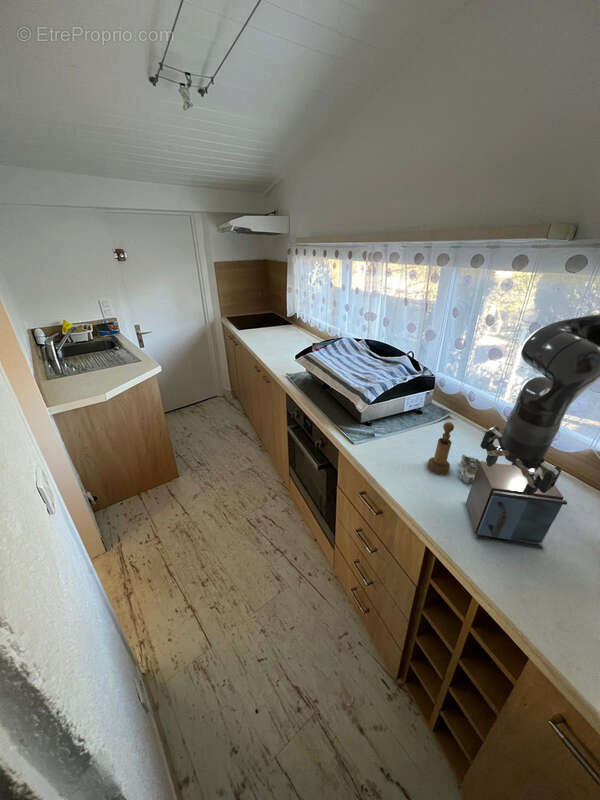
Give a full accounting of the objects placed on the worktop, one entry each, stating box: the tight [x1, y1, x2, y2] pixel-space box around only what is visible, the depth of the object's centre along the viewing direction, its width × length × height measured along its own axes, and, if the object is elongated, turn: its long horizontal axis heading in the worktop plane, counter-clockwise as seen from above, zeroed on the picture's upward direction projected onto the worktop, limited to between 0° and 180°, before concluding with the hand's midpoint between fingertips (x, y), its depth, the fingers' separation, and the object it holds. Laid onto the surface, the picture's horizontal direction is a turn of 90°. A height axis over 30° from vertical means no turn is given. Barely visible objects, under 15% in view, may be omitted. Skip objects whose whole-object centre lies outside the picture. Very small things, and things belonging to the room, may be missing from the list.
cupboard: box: [465, 461, 568, 550], centre depth 79 cm, size 15×12×16 cm
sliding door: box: [478, 495, 527, 540], centre depth 73 cm, size 7×4×13 cm, turn 78°
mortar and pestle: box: [427, 421, 455, 476], centre depth 98 cm, size 7×6×18 cm
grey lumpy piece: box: [459, 454, 484, 484], centre depth 99 cm, size 11×8×4 cm
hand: (508, 477), depth 67 cm, fingers open, 8 cm apart
